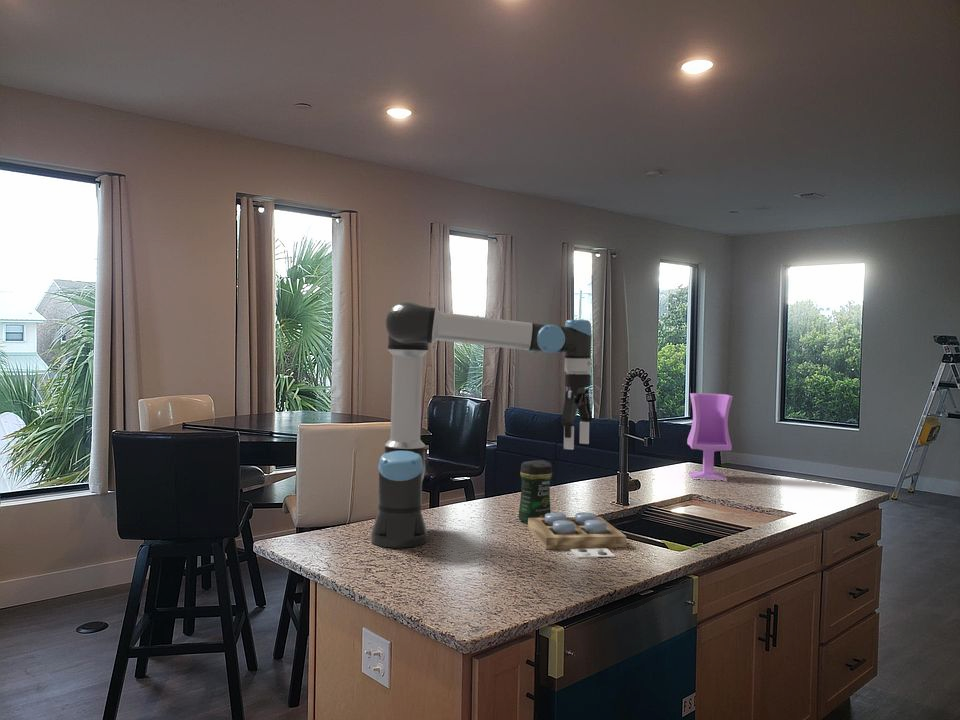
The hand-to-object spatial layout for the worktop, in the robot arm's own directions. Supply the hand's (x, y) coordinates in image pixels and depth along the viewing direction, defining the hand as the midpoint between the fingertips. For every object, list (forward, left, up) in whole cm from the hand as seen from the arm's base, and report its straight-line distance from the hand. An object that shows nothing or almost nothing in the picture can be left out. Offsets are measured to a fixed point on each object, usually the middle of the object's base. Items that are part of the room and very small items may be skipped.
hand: (576, 446), depth 208 cm
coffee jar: (-9, +12, -25) cm, 29 cm away
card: (-2, -23, -25) cm, 34 cm away
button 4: (+2, -12, -22) cm, 25 cm away
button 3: (+2, -3, -22) cm, 22 cm away
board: (-2, -7, -25) cm, 26 cm away
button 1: (-7, -3, -22) cm, 23 cm away
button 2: (-7, -12, -22) cm, 26 cm away
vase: (+82, +81, -25) cm, 117 cm away
